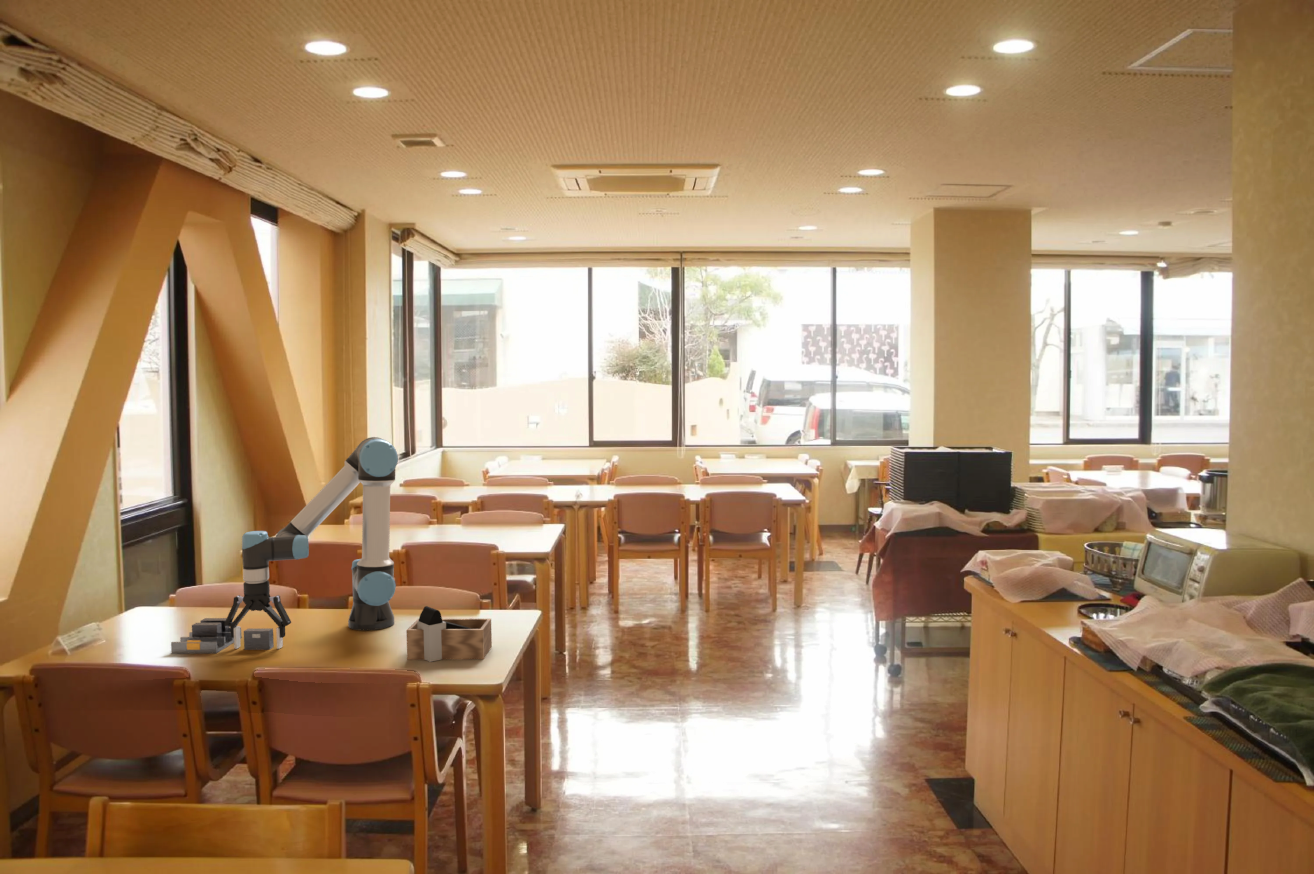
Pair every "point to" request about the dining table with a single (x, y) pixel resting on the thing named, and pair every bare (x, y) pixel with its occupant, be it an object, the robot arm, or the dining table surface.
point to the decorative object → (434, 632)
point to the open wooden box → (454, 640)
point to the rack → (205, 638)
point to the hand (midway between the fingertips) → (258, 647)
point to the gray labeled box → (258, 639)
